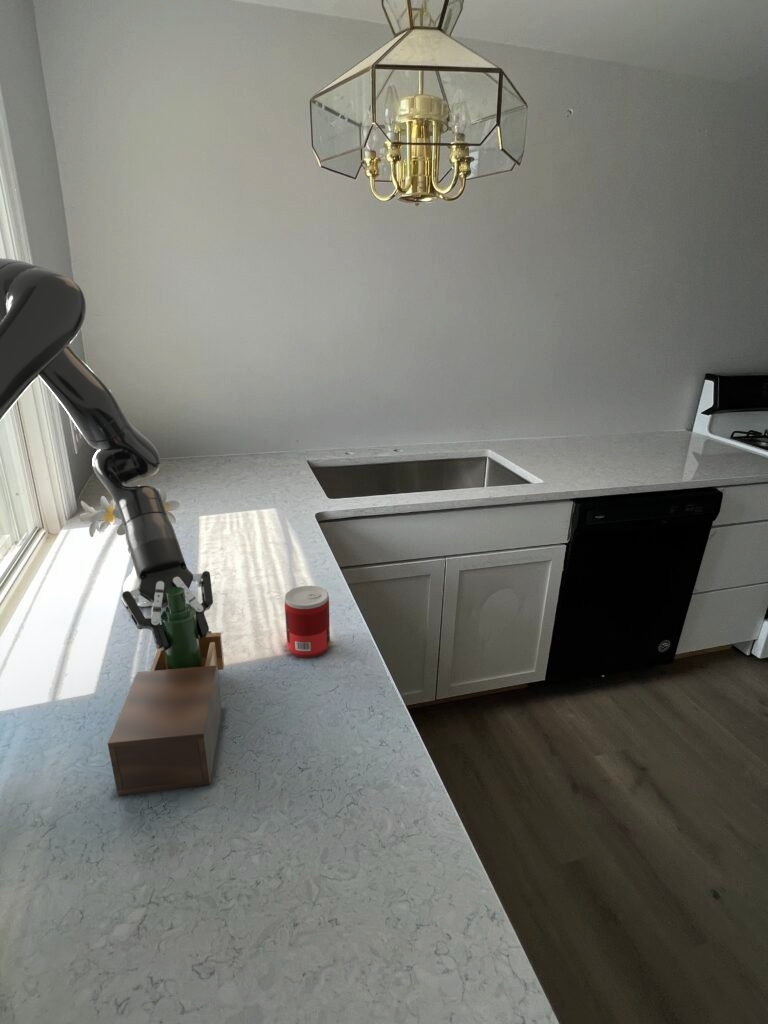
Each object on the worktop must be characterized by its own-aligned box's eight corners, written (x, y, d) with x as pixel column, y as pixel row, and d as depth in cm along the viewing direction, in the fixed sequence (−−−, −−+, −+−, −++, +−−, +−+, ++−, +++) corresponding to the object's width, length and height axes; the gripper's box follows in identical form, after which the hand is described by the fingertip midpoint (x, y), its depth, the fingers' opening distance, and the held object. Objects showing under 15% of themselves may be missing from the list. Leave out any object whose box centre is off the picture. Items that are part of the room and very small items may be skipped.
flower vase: (101, 594, 122) (80, 485, 113) (189, 581, 128) (176, 477, 119) (94, 624, 111) (71, 506, 102) (192, 608, 117) (178, 496, 108)
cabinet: (144, 718, 86) (136, 671, 83) (221, 710, 88) (216, 665, 85) (117, 795, 72) (107, 743, 69) (209, 784, 74) (203, 733, 71)
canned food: (337, 649, 104) (336, 597, 100) (298, 664, 99) (296, 610, 95) (318, 631, 110) (316, 581, 106) (280, 643, 105) (277, 592, 101)
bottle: (167, 694, 88) (153, 600, 82) (173, 674, 93) (160, 584, 87) (201, 691, 89) (190, 598, 83) (206, 671, 94) (195, 581, 88)
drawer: (166, 656, 99) (161, 624, 97) (226, 652, 101) (223, 619, 99) (143, 726, 83) (136, 688, 81) (215, 719, 85) (210, 682, 82)
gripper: (107, 547, 84) (138, 652, 80) (201, 527, 92) (234, 622, 88) (106, 566, 90) (134, 665, 85) (194, 546, 98) (225, 635, 93)
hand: (185, 642), depth 87 cm, fingers closed on bottle, 5 cm apart
